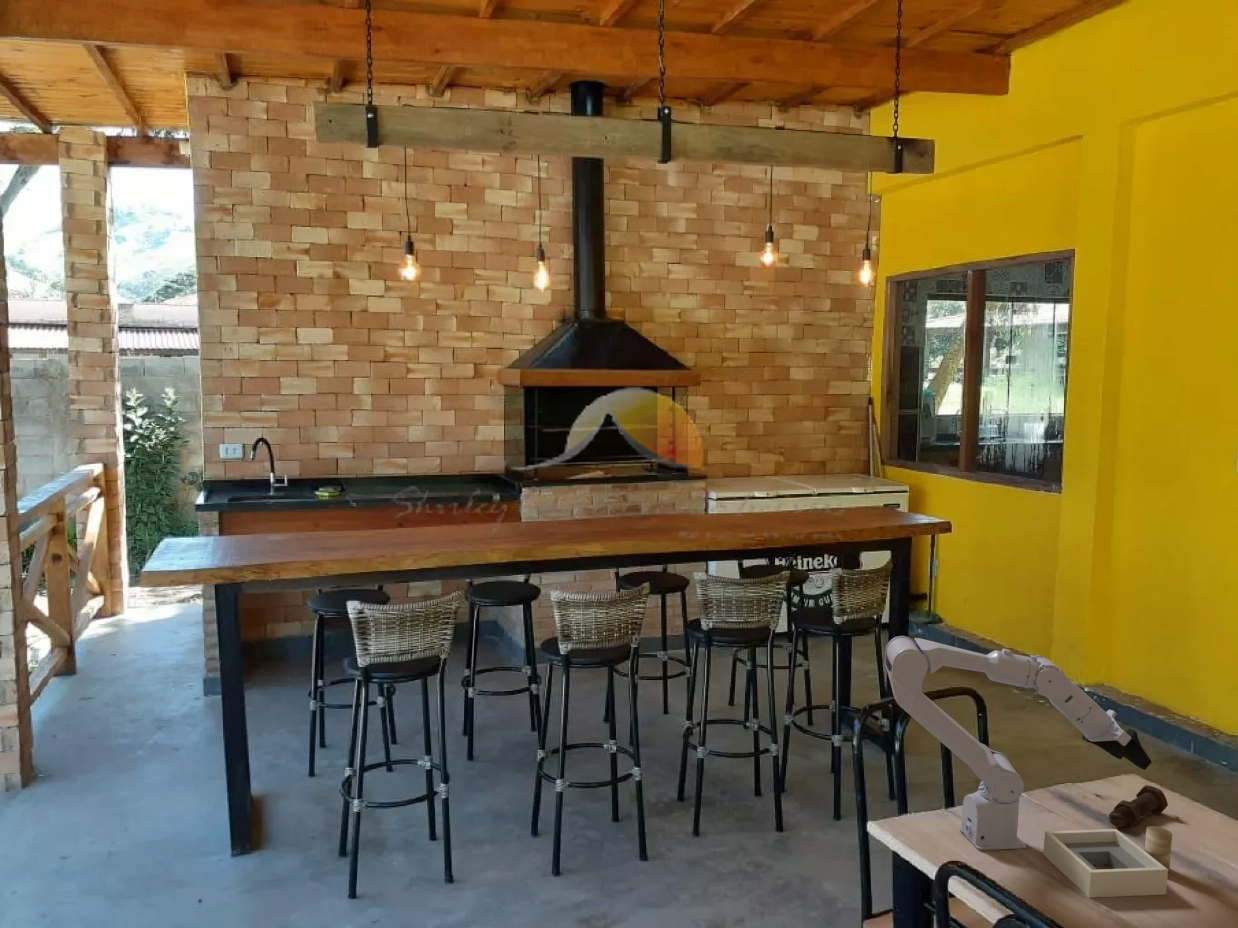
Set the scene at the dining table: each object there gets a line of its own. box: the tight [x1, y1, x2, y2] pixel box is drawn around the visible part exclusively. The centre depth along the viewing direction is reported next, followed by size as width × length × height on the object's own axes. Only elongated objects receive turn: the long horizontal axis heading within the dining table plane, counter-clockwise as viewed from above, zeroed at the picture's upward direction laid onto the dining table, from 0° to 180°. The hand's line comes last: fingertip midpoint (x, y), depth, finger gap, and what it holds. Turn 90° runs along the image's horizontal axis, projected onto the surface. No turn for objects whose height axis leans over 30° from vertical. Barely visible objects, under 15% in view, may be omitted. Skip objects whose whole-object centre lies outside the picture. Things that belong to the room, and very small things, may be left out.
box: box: [1042, 828, 1169, 899], centre depth 163 cm, size 14×14×4 cm
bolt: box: [1108, 784, 1169, 829], centre depth 184 cm, size 6×5×15 cm
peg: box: [1144, 825, 1173, 874], centre depth 165 cm, size 4×4×7 cm
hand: (1134, 760), depth 170 cm, fingers open, 7 cm apart
